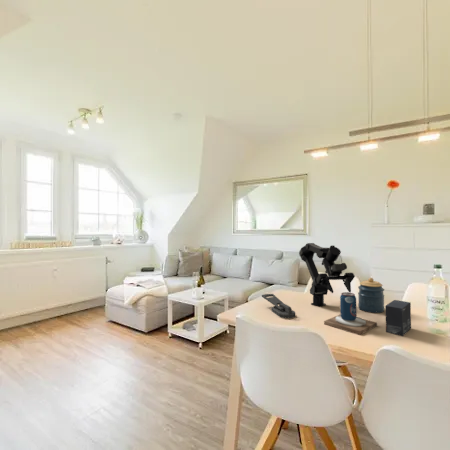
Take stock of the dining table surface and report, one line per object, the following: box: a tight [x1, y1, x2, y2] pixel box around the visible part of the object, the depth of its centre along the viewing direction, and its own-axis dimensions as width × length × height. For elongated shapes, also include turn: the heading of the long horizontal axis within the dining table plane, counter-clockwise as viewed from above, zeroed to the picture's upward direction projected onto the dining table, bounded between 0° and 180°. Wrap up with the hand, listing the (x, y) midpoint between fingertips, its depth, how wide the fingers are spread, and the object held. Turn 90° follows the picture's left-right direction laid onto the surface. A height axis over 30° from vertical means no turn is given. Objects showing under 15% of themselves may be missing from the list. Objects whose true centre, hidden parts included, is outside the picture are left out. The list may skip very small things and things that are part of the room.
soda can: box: [339, 291, 358, 321], centre depth 131 cm, size 7×7×12 cm
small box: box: [384, 299, 412, 337], centre depth 124 cm, size 13×7×12 cm, turn 133°
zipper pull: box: [261, 293, 296, 319], centre depth 153 cm, size 9×7×25 cm
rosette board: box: [323, 314, 378, 336], centre depth 131 cm, size 17×17×3 cm
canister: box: [357, 277, 385, 314], centre depth 154 cm, size 13×13×18 cm
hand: (341, 292), depth 139 cm, fingers open, 9 cm apart
